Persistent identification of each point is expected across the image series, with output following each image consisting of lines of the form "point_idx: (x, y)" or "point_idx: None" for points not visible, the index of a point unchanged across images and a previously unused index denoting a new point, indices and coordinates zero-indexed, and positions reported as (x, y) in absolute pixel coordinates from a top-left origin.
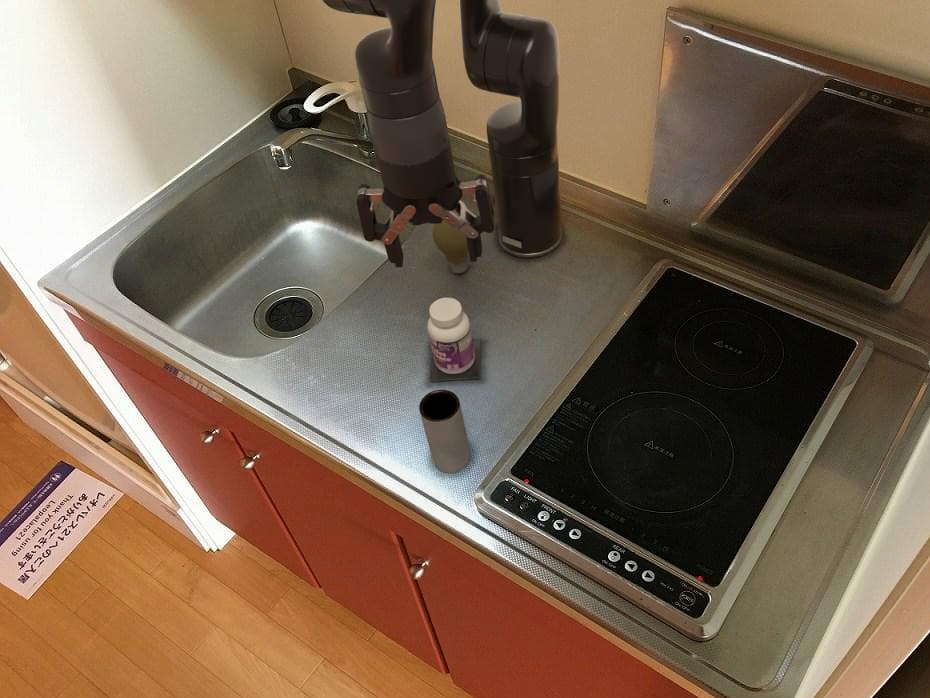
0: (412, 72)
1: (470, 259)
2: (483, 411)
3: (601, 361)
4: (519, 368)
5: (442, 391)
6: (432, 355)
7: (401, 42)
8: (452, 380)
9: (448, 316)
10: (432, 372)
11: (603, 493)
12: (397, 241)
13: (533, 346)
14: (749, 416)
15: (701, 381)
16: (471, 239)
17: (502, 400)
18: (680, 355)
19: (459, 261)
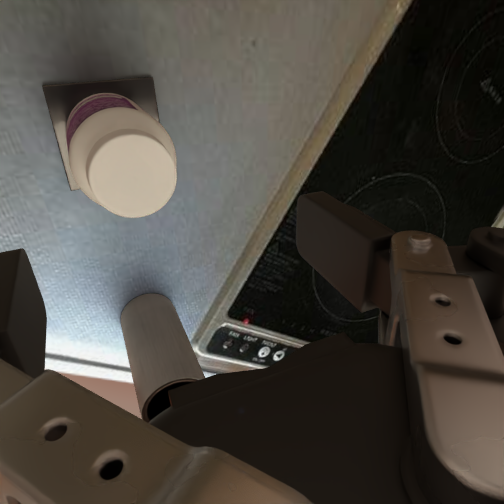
0: None
1: (306, 260)
2: (180, 235)
3: (348, 122)
4: (229, 143)
5: (177, 382)
6: (55, 125)
7: None
8: None
9: (148, 203)
10: (70, 170)
11: (322, 314)
12: (28, 359)
13: (251, 89)
14: (469, 199)
15: (447, 152)
16: (375, 305)
17: (207, 211)
18: (440, 107)
19: None
